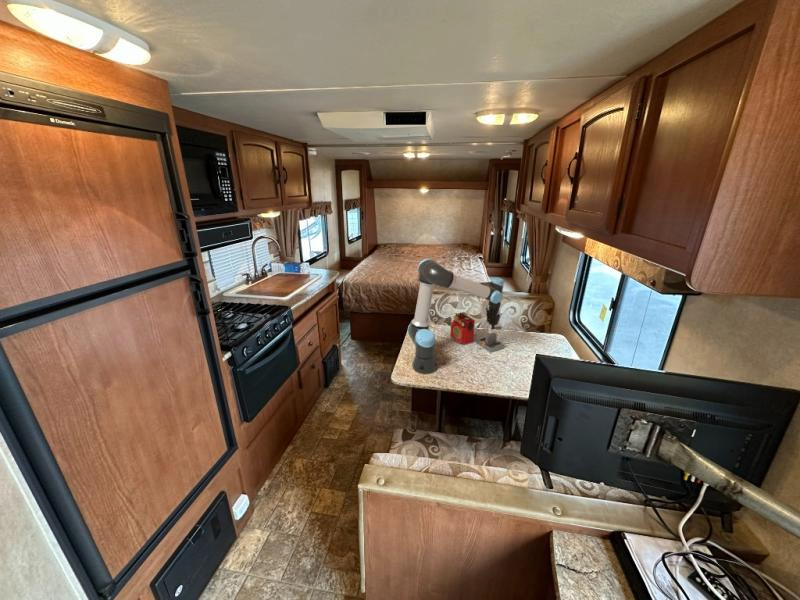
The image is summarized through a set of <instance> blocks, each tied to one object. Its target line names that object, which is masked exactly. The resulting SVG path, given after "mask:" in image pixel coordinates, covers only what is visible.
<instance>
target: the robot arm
mask: <svg viewBox="0 0 800 600" xmlns="http://www.w3.org/2000/svg"><path fill="white" fill-rule="evenodd" d="M417 272H418V280H417V281H418V283H419V290H418V293H417V294H418V295H417V301H416V305H415V306H416V307H415V312H414V317H413V319H411V321H410V323H409V325H408V327H407V333H408V336H409V338H410V339H411V341H412V342H413V345H414V347H415V348H414V349H415V350H414V351H415V354H414V358H413V360H412V364H411V367H412V369H413V371H414V372H417V373H418V374H423V375H425V374H426V375H427V374H432V373H434V372H435V371H436V370H437V368H438V367H437V365H438V364H437V360H436V357H435V349H436V348H435V347H436V334H435V333H434V332H433V331H432V330H429V328H430V323H429V321H428V320H429V315H430V311H431V305H432V304H431V303H432V299H433V294H434V290H435V289H434V288H435V286H439V287H441V288H445V289H449V288H451V289H454V290H457V291H460V292H463V293H466V294H469V295H472V296H476V297H478V298H481V299H485V300H487V301H488V307H485V311H486V322H487V323H488V334H491V333H494V330H495V327H496V326H497V325H498V323H499V321H500V319H501V317H502V316H503V314H502V313H501V312H500V308H501V305H502V304H501V303H502V300H503V291H504V283H505V282H504V279H503V278H501V277H493V278H491V280H490V281H484V282H480V281H479V282H475V281H473V280H470V279H467V278H464V277H461V276H459V275H456V274H455V273H454V272H452V271H450V270H448V269H446V268H445V267H443V266H442V265H441V264H440V263H438V262H437V261H436V260H434V259H432V258H425V259H423V260H421V261H420V262H419V264H418V265H417Z"/></svg>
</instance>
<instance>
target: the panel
mask: <svg viewBox="0 0 800 600" xmlns="http://www.w3.org/2000/svg"><path fill="white" fill-rule="evenodd" d="M485 336H486V338H485V343H486V344H489V343H492V342H495V341H496V340H497V336H498V334H497V333H496V332H493V333H491V334H490V333H488V334H486V335H485Z"/></svg>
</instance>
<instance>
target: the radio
mask: <svg viewBox="0 0 800 600" xmlns="http://www.w3.org/2000/svg"><path fill="white" fill-rule="evenodd" d="M475 321H476V320H475V319H473V318H471V317H470V316H468V314H467V313H466V312H464V311H461V312H459V313H456V314H454V315H453V320H452V322H450V337H451V338H452V339H453V340H455V341H456V342H457V343H459V344H463V345H466V344H471V343H473V341H474V331H475Z"/></svg>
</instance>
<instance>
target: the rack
mask: <svg viewBox="0 0 800 600" xmlns="http://www.w3.org/2000/svg"><path fill="white" fill-rule="evenodd" d="M485 338H486V335H485V336H481V337H478V338H475V344H477V345H478V346H479V347H481V348H483V349H484V350H486V351H487V352H489V353H490V354H492V353H494V352H498V351H500V350H503V349H504V348H505V344H504V343H503V342H501V341H500V340H498V339H496V341H495V342H492V343H489V344H486V343H485Z"/></svg>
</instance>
